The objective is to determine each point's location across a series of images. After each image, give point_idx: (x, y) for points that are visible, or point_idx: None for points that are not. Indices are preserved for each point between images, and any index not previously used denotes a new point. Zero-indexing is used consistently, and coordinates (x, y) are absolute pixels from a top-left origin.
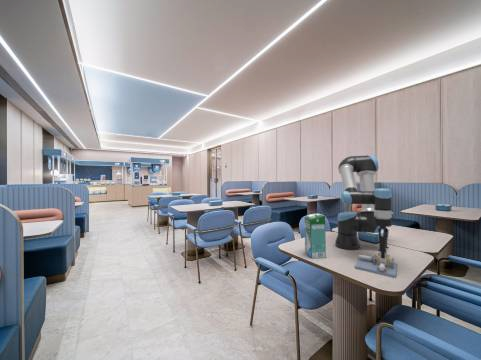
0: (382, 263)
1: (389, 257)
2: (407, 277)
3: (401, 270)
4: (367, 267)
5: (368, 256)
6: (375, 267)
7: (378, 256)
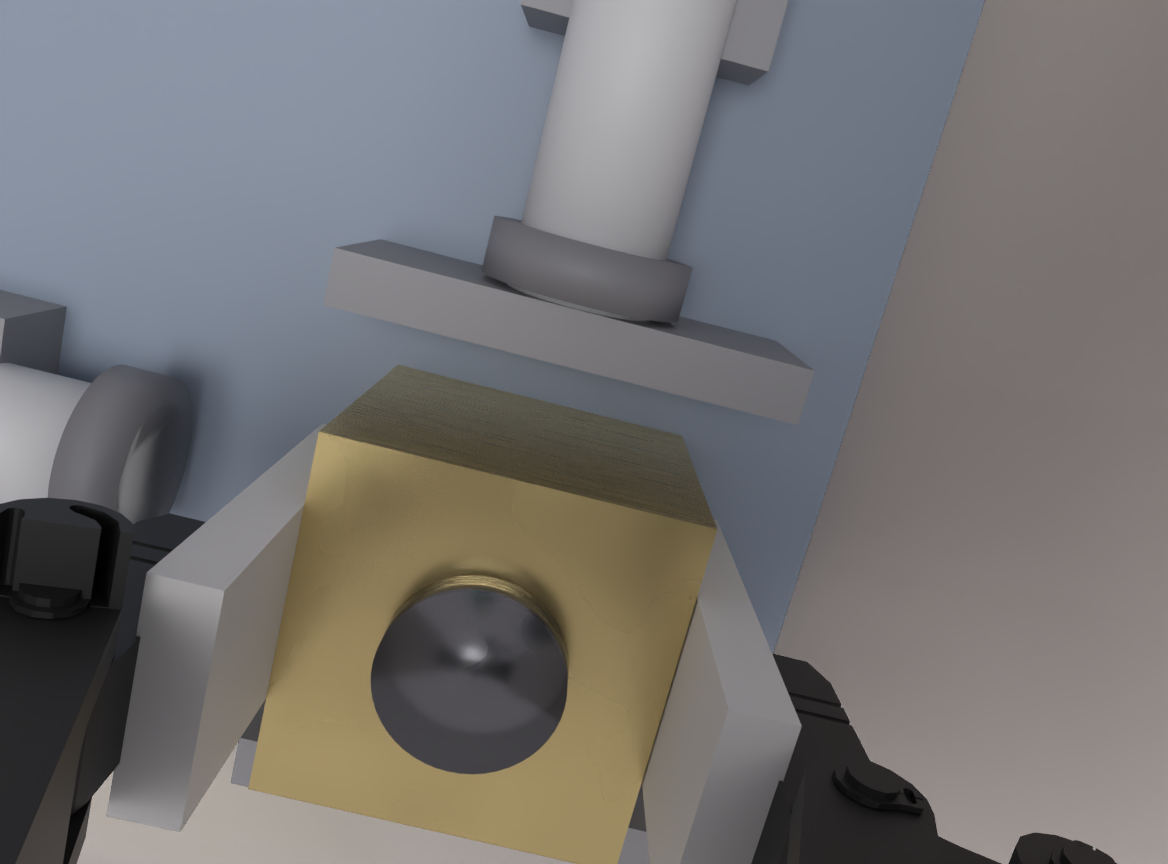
0: (42, 477)
1: (285, 792)
2: (83, 854)
3: (455, 838)
4: (59, 31)
5: (593, 120)
6: (174, 266)
7: (319, 447)
